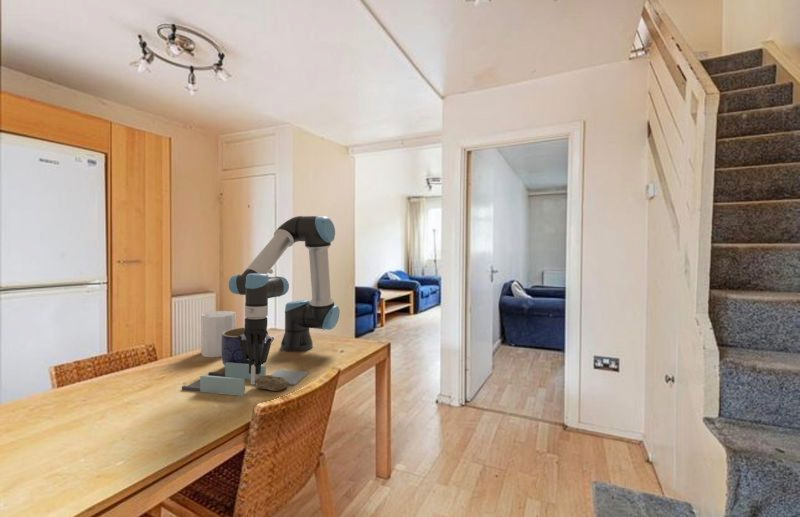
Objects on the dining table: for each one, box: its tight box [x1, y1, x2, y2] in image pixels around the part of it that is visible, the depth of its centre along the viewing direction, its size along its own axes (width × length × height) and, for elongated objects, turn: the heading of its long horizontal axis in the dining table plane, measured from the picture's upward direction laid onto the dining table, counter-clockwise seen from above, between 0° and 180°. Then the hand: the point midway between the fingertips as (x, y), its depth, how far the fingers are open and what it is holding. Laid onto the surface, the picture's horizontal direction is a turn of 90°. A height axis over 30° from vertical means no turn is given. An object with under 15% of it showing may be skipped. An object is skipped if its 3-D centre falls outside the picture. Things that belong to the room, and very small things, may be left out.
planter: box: [221, 326, 266, 367], centre depth 153 cm, size 16×17×15 cm
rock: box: [255, 374, 290, 392], centre depth 132 cm, size 8×11×4 cm
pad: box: [270, 368, 310, 387], centre depth 143 cm, size 13×13×1 cm
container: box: [200, 310, 237, 358], centre depth 172 cm, size 14×14×18 cm
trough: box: [181, 362, 267, 397], centre depth 134 cm, size 15×23×6 cm, turn 81°
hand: (254, 382), depth 132 cm, fingers closed
